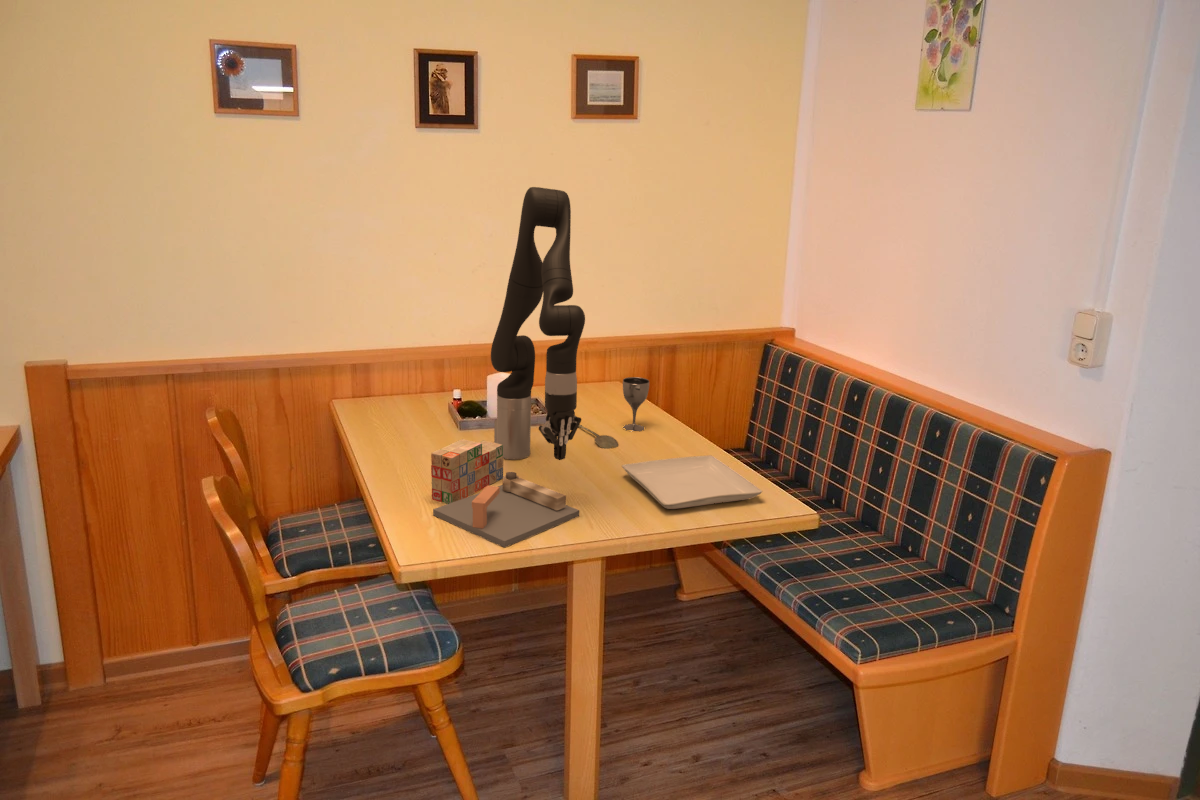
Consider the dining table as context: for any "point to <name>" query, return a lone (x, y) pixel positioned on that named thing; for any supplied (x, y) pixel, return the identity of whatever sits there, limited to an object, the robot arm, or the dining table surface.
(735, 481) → the square plate
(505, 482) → the arm link
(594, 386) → the dining table surface
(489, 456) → the stack of blocks
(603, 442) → the soupspoon
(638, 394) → the wine glass
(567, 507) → the board
